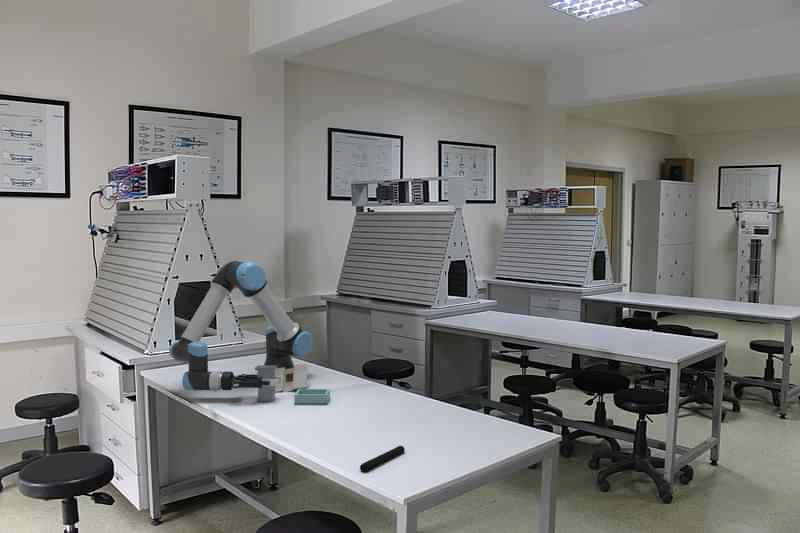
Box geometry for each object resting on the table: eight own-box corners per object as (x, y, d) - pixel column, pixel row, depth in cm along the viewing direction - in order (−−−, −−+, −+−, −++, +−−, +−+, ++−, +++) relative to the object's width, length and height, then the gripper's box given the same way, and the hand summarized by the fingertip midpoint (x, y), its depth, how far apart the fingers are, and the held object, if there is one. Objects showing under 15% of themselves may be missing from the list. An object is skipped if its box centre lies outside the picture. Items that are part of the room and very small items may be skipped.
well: (298, 398, 251) (298, 388, 251) (330, 398, 251) (330, 388, 251) (294, 404, 242) (294, 394, 242) (327, 404, 242) (327, 395, 242)
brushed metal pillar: (258, 398, 251) (257, 365, 250) (277, 398, 251) (277, 365, 250) (255, 401, 246) (254, 367, 246) (275, 402, 246) (274, 367, 245)
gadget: (399, 444, 193) (358, 463, 177) (406, 445, 192) (365, 465, 176) (399, 451, 193) (358, 472, 177) (406, 453, 192) (365, 474, 176)
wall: (312, 397, 266) (311, 369, 277) (307, 386, 260) (307, 358, 271) (274, 403, 266) (275, 375, 277) (269, 393, 260) (270, 364, 271)
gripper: (229, 384, 257) (284, 384, 257) (215, 396, 240) (274, 396, 240) (228, 366, 257) (283, 366, 256) (215, 377, 239) (274, 377, 239)
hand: (279, 381), depth 248 cm, fingers closed on brushed metal pillar, 4 cm apart
